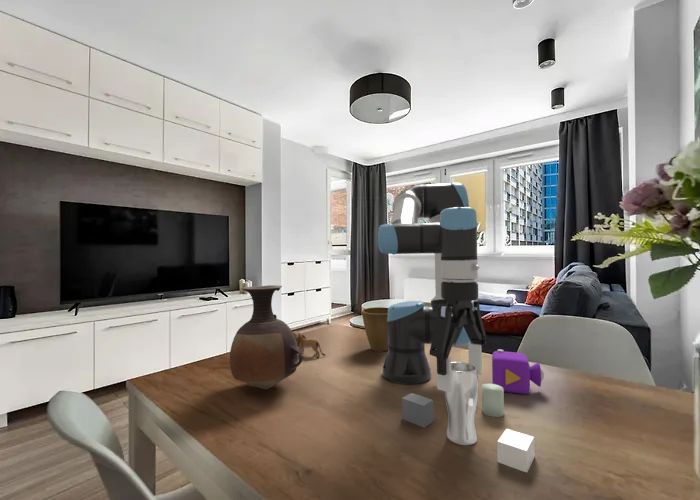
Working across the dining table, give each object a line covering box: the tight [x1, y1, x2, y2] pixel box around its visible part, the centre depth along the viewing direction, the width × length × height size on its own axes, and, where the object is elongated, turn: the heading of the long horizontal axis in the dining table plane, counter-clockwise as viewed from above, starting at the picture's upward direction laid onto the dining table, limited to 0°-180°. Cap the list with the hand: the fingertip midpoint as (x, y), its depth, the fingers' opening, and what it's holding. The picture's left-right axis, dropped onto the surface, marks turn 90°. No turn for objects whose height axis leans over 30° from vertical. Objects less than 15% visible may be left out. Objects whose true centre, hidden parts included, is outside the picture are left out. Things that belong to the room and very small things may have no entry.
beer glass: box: [443, 361, 479, 446], centre depth 72 cm, size 7×7×15 cm
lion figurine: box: [292, 330, 326, 358], centre depth 132 cm, size 15×5×9 cm, turn 73°
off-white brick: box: [496, 428, 535, 473], centre depth 64 cm, size 6×5×4 cm
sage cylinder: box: [480, 383, 505, 418], centre depth 83 cm, size 5×5×6 cm
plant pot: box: [361, 306, 389, 352], centre depth 139 cm, size 15×15×16 cm
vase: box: [229, 284, 304, 391], centre depth 100 cm, size 23×19×30 cm
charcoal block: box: [401, 392, 435, 428], centre depth 80 cm, size 6×4×5 cm, turn 45°
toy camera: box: [491, 348, 545, 395], centre depth 98 cm, size 11×14×10 cm
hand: (460, 381), depth 72 cm, fingers open, 13 cm apart
